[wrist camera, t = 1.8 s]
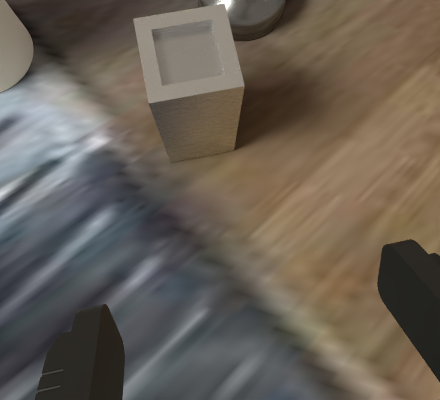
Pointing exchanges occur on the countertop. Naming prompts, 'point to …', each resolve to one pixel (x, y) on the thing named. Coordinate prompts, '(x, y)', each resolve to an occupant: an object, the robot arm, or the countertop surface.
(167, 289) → the countertop surface
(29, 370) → the countertop surface
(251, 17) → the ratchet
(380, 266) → the robot arm
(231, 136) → the socket
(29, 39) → the cylindrical container
